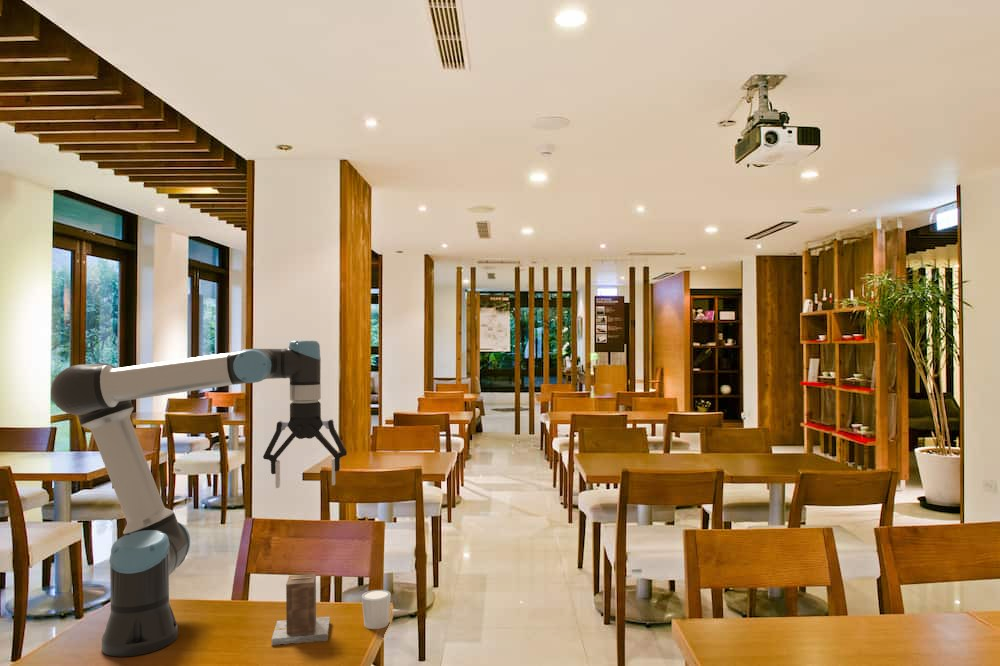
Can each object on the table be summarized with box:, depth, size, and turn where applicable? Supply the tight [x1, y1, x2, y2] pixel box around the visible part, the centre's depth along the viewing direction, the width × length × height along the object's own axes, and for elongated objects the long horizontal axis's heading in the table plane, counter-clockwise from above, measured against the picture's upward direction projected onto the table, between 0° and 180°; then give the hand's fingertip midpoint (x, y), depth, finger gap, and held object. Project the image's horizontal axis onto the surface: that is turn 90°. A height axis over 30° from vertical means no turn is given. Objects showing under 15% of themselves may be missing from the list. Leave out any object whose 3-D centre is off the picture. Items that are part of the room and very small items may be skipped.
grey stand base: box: [271, 616, 331, 646], centre depth 158 cm, size 12×10×6 cm
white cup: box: [361, 589, 392, 630], centre depth 163 cm, size 7×7×7 cm
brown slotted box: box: [285, 573, 317, 634], centre depth 158 cm, size 6×6×11 cm
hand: (305, 485), depth 174 cm, fingers open, 13 cm apart
